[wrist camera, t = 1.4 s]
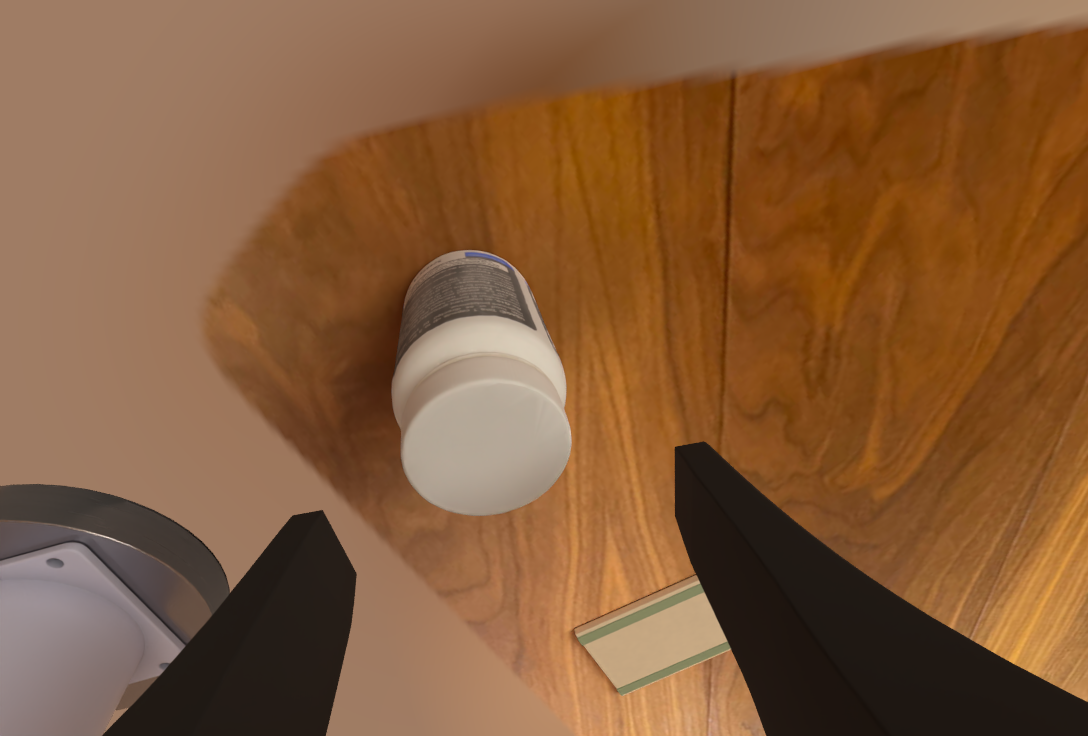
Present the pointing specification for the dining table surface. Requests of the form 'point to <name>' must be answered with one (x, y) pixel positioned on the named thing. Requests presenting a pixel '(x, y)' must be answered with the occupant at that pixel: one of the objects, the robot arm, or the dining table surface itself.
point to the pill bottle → (478, 388)
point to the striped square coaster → (655, 636)
